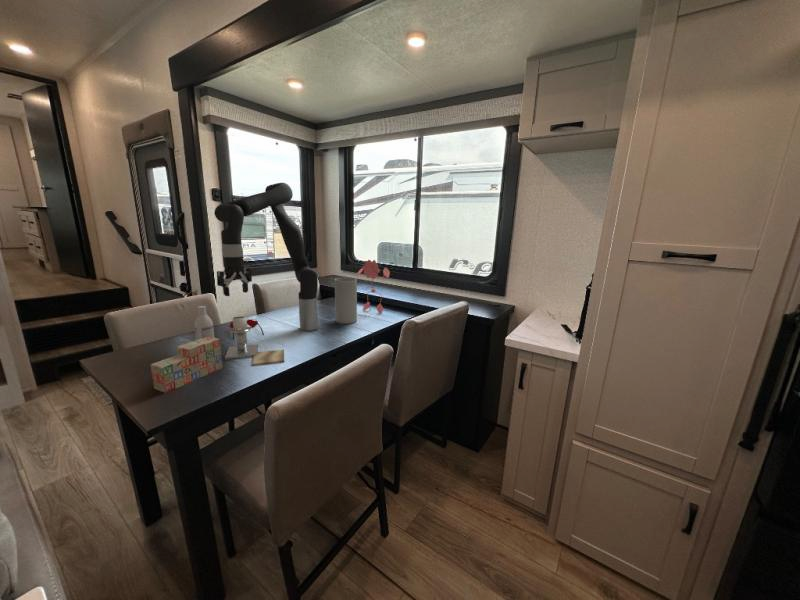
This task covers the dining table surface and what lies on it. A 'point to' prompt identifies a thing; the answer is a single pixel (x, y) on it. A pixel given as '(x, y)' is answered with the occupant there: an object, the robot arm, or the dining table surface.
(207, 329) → the bath foam
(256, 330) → the dining table surface
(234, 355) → the knob on square base
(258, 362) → the coaster
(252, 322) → the glasses
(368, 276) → the figurine
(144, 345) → the dining table surface
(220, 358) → the stack of blocks
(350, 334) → the dining table surface
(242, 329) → the cap
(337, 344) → the dining table surface
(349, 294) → the cylinder vase
